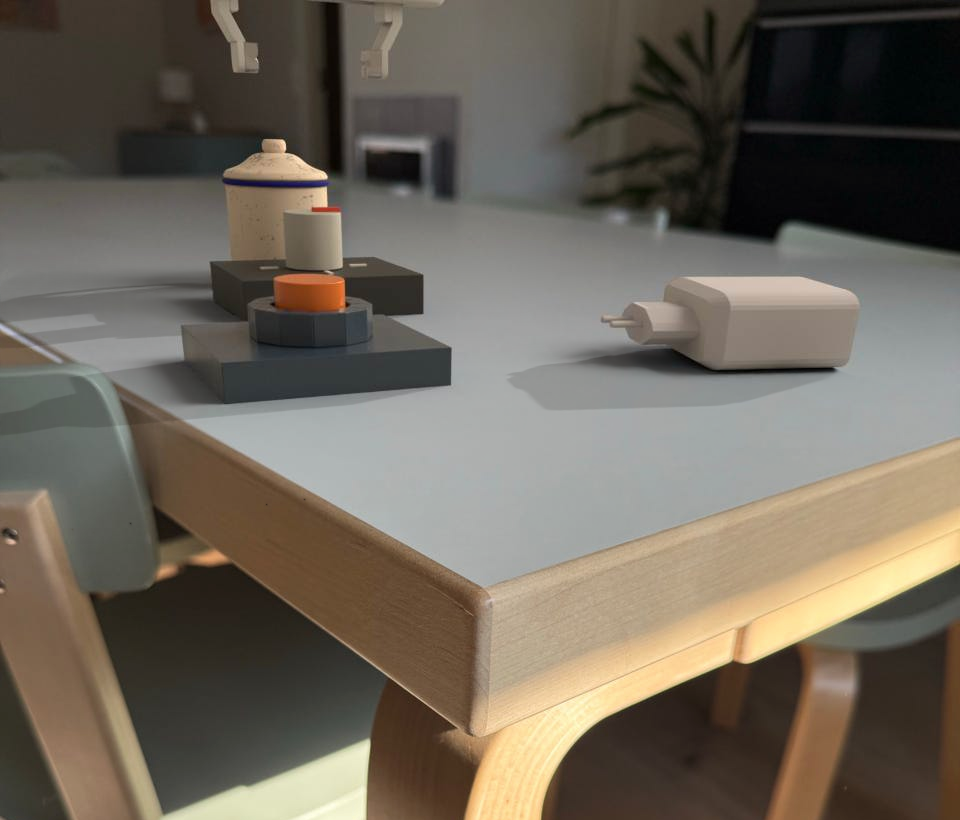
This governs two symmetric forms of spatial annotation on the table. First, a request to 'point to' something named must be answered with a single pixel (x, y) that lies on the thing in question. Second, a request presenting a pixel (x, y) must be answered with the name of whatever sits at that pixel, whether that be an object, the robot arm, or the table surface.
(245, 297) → the kettle base
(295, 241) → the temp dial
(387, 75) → the robot arm
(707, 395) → the table surface
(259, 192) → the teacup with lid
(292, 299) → the power button
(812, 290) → the charger
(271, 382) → the switch block
